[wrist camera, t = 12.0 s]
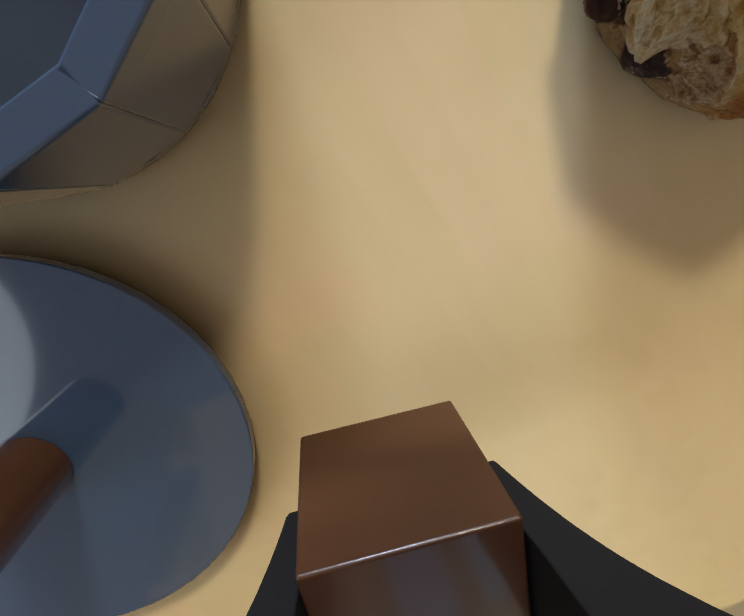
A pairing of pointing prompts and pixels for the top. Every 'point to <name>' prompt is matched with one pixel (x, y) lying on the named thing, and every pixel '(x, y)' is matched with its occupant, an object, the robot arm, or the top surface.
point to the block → (407, 522)
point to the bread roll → (680, 49)
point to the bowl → (102, 87)
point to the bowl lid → (109, 445)
